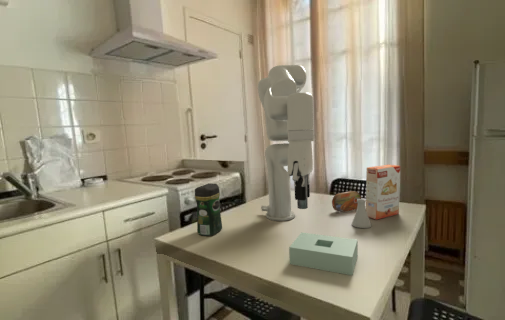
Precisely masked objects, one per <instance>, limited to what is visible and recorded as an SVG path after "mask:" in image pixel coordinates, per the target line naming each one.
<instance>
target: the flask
mask: <svg viewBox="0 0 505 320" xmlns="http://www.w3.org/2000/svg"><path fill="white" fill-rule="evenodd" d="M357 202H358V206H357V209H356V212H355V214H354V217H353V219H352V222H351V226H353V227H354V228H358V229H360V228H361V229H366V228H367V229H370V228H371V227H372V223H371V220H370V217H368V215H367V212H366V199H364V198H361V199H357Z"/></svg>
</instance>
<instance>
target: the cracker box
mask: <svg viewBox="0 0 505 320" xmlns="http://www.w3.org/2000/svg"><path fill="white" fill-rule="evenodd" d="M365 177H366V181H365V183H366V184H365V185H366V186H365V200H366V202H365V208H366V212H367V215H368V217H369V219H370V218H371V219H374V220H375V221H377V220H381V219H384V218H388V217H391V216H396V215H399V213H400V193H401V192H400V188H401V187H400V185H401V184H400V183H401V165H398V164H384V165H375V166H369V167H366V175H365Z"/></svg>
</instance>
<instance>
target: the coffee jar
mask: <svg viewBox="0 0 505 320" xmlns="http://www.w3.org/2000/svg"><path fill="white" fill-rule="evenodd" d="M220 195H221V193H220V187H219V185H218V184H217V183H211V182H210V183H205V184H202V185H200V186H197V187H195V189H194V198H195V201H196V214H197V215H196V216H197V217H196V222H197V223H196V224H197V225H196V226H197V227H196V228H197V234H198V235H199V236H201V237H202V236H204V237H208V236H210V237H211V236H215V235H216V234H217V233H219V232H220V231H221V230H222V229H223V224H222V223H223V222H222V214H221V208H220V206H221V204H220Z"/></svg>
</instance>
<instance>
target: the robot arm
mask: <svg viewBox="0 0 505 320" xmlns="http://www.w3.org/2000/svg"><path fill="white" fill-rule="evenodd" d="M306 82H307V72H306V70H305V68H304V66H302V65H300V64H285V65H283V64H281V65H275V66H273V67H271V68H270V70H269V71H268V74H267V77H265V78H261V79H260V80H259V81H258V83H257V93H258V98H259V101H260V103H261V105H262V108H263V111H264V118H265V129H266V130H265V131H266V137H267V139H268V140H269V141H270V142H288V143H274V144H272V143H271V144H270V145H268V146H266V148H265V150H264V157H265V163H266V169H267V181H268V183H267V184H268V185H267V186H268V187H267V188H268V205H265V204H262V205H261V208H260V209H261V211H262V212H266V213H265V217H266V219H268V220H270V221H274V222H275V221H276V222H283V221H284V222H285V221H290V220H293V219H294V218H295V217H296V213H295V212H294V211H293V210H292V193H291V192H292V190H291V189H292V187H291V184H292V183H291V180H292V181H293V186H294V200H295V201H297V200H306V187H304V185H305V176H306V175H307V198H310V197H311V195H310V194H311V193H310V186H311V185H310V182H311V181H310V174H311V173H312V172H313V169H314V168H313V167H314V166H313V165H314V163H313V162H314V159H313V157H314V156H313V146H312V142H315V130H314V129H315V127H314V122H315V121H314V120H315V119H314V117H315V116H314V97H313V95H312V94H311V93H310V92H301V91H302V90H303V88H304V87H305V85H306ZM285 167H287V170H286V168H285ZM299 174H301V176H298V175H299ZM291 177H292V179H291ZM299 178H302V181H301V179H299Z"/></svg>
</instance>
